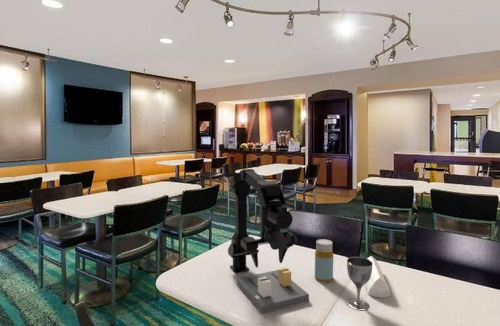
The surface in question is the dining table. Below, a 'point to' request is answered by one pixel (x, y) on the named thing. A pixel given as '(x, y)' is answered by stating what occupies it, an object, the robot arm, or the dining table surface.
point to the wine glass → (359, 278)
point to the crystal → (377, 282)
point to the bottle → (324, 260)
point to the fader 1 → (264, 286)
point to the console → (272, 292)
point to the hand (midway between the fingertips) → (268, 264)
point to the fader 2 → (284, 276)
